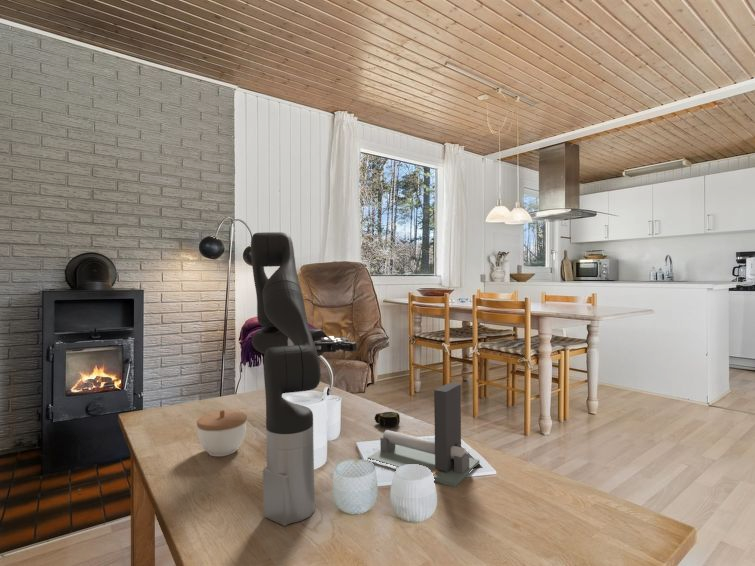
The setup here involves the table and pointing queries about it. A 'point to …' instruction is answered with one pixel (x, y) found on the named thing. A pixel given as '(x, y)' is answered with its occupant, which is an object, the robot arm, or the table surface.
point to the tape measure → (387, 419)
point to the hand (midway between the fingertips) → (354, 347)
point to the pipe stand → (423, 456)
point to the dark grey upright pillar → (447, 424)
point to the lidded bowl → (222, 432)
